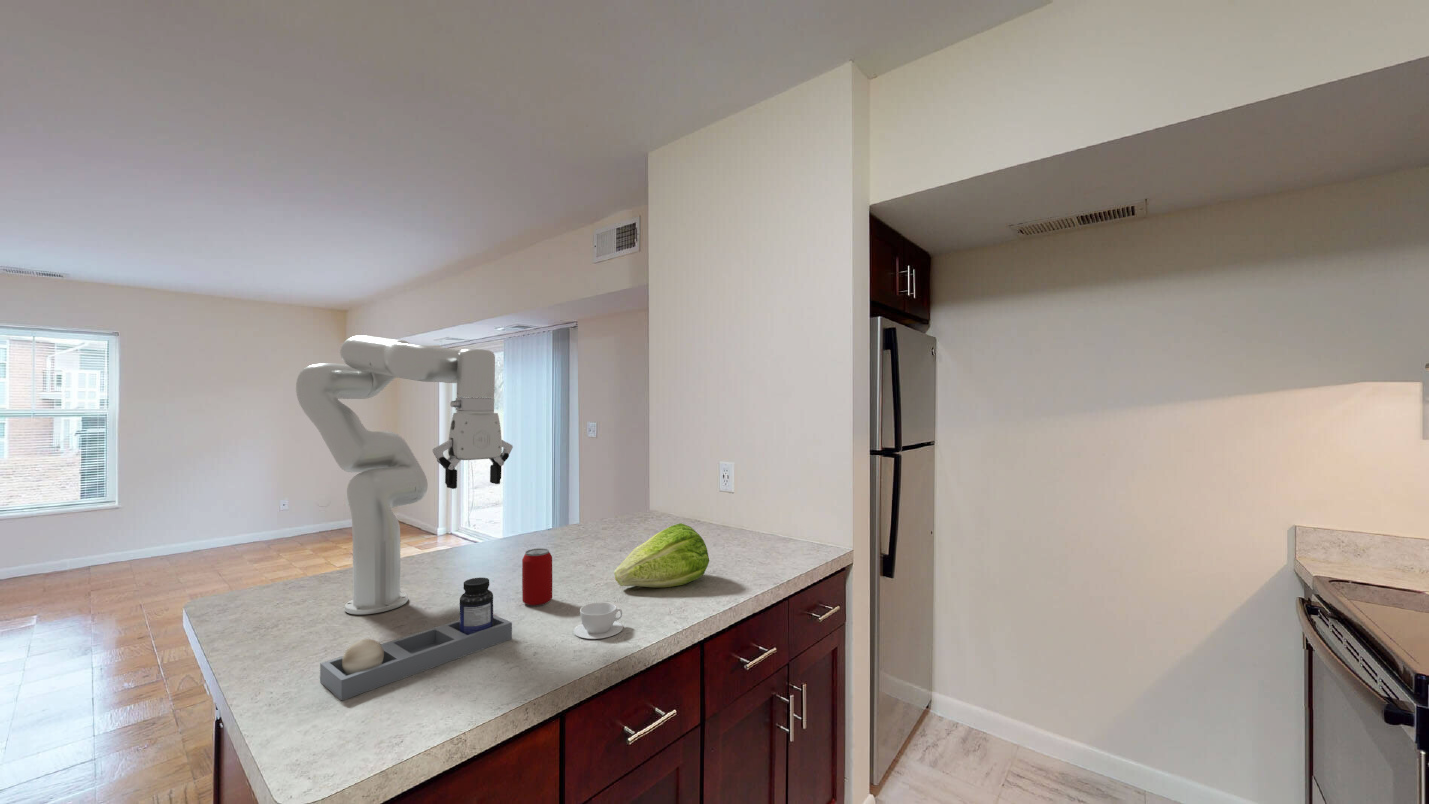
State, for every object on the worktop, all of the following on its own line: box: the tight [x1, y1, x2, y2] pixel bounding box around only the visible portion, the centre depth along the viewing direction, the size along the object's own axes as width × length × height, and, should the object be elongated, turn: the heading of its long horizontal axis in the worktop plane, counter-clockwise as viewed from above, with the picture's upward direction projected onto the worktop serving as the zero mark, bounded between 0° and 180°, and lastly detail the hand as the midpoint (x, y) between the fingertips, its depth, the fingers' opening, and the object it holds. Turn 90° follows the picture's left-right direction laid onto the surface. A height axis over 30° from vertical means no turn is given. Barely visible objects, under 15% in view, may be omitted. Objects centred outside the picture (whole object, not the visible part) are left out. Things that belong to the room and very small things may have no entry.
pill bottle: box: [459, 577, 494, 635], centre depth 111 cm, size 6×6×11 cm
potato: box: [342, 638, 384, 675], centre depth 95 cm, size 6×6×6 cm
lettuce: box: [613, 522, 710, 588], centre depth 145 cm, size 15×24×16 cm
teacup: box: [573, 601, 624, 640], centre depth 115 cm, size 10×10×5 cm
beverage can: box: [521, 547, 553, 607], centre depth 132 cm, size 7×7×12 cm
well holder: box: [319, 614, 513, 701], centre depth 102 cm, size 10×30×3 cm, turn 142°
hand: (474, 485), depth 121 cm, fingers open, 9 cm apart
